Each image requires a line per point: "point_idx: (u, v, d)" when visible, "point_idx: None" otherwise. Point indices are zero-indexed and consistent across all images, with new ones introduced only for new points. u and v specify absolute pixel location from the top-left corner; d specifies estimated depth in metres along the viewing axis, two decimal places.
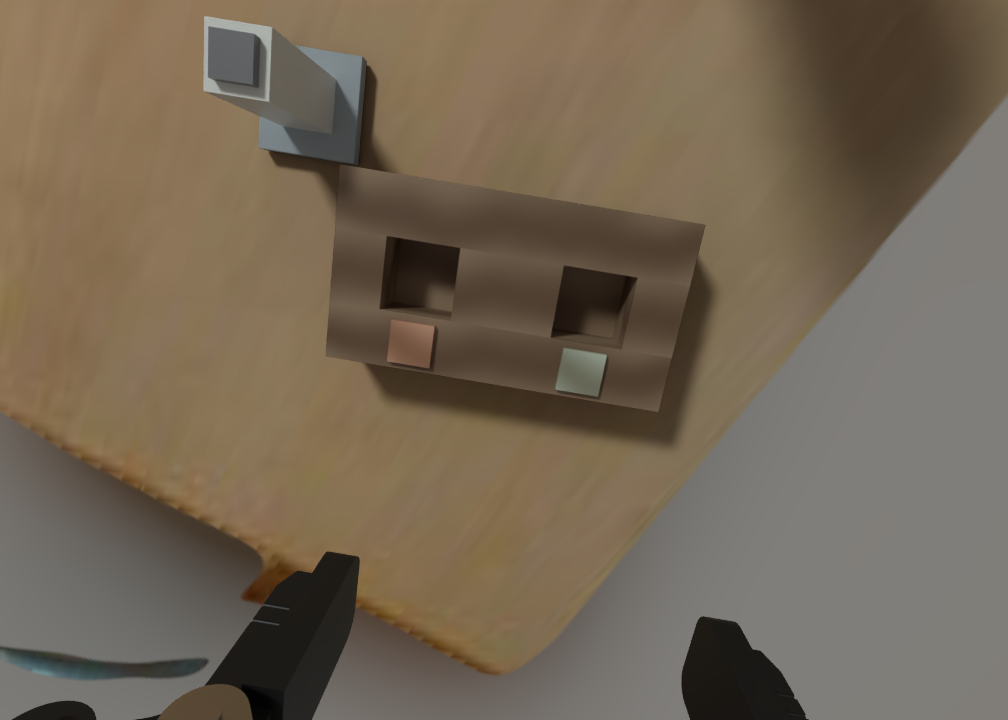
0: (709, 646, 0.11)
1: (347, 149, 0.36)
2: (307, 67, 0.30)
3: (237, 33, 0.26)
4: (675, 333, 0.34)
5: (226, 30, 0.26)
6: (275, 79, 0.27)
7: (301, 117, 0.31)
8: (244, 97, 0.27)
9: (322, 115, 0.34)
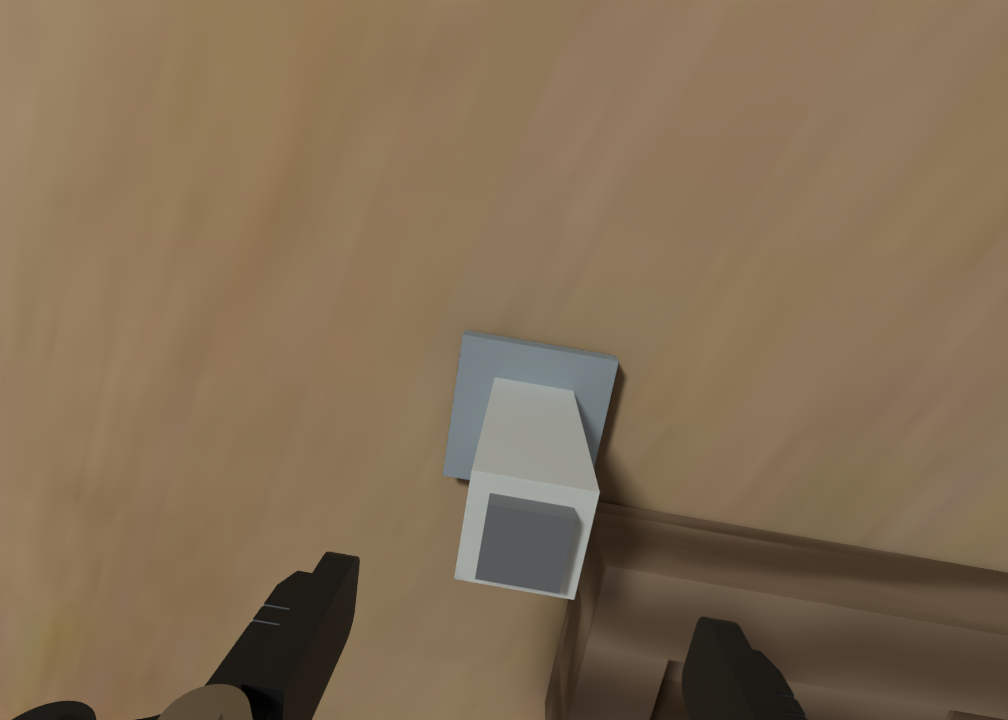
0: (709, 646, 0.11)
1: None
2: None
3: (542, 517, 0.13)
4: None
5: (522, 512, 0.13)
6: None
7: None
8: (528, 590, 0.15)
9: None
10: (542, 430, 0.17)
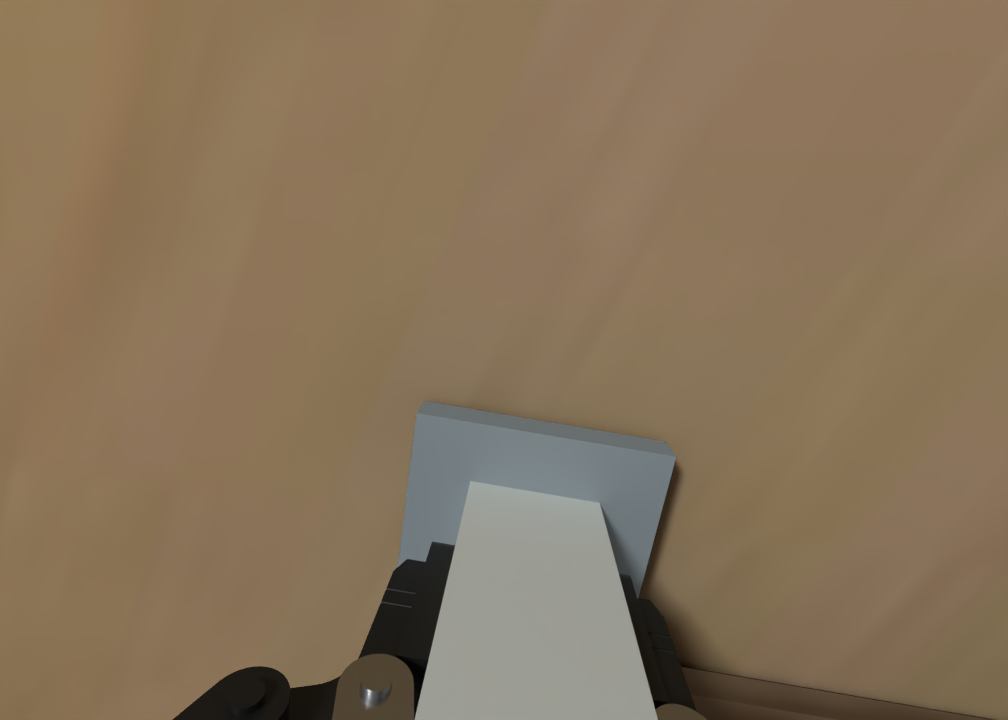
0: None
1: None
2: None
3: None
4: None
5: None
6: None
7: None
8: None
9: None
10: (555, 648, 0.09)
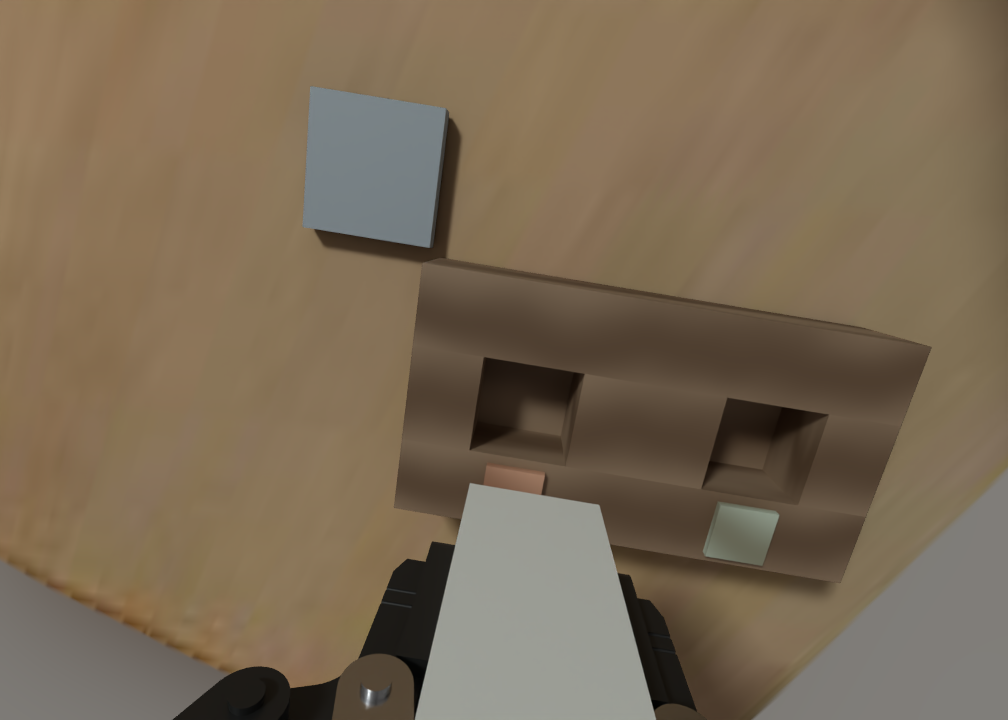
0: None
1: (421, 229, 0.27)
2: None
3: None
4: (874, 486, 0.25)
5: None
6: None
7: None
8: None
9: None
10: (554, 651, 0.09)
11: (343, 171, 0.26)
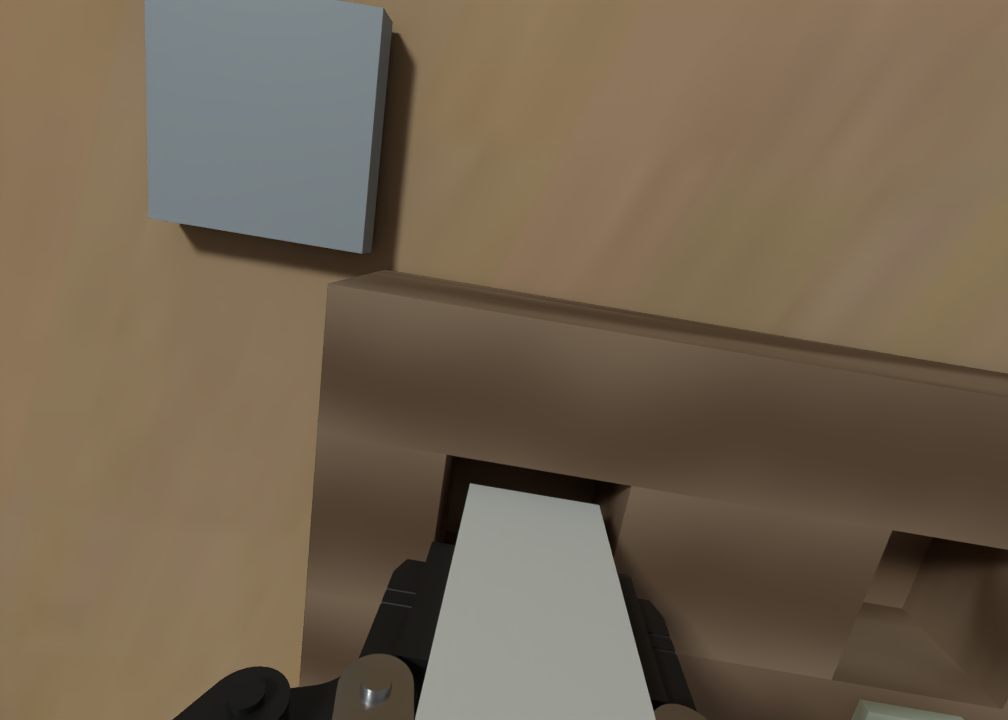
0: None
1: (346, 222, 0.16)
2: None
3: None
4: None
5: None
6: None
7: None
8: None
9: None
10: (554, 651, 0.09)
11: (210, 123, 0.15)
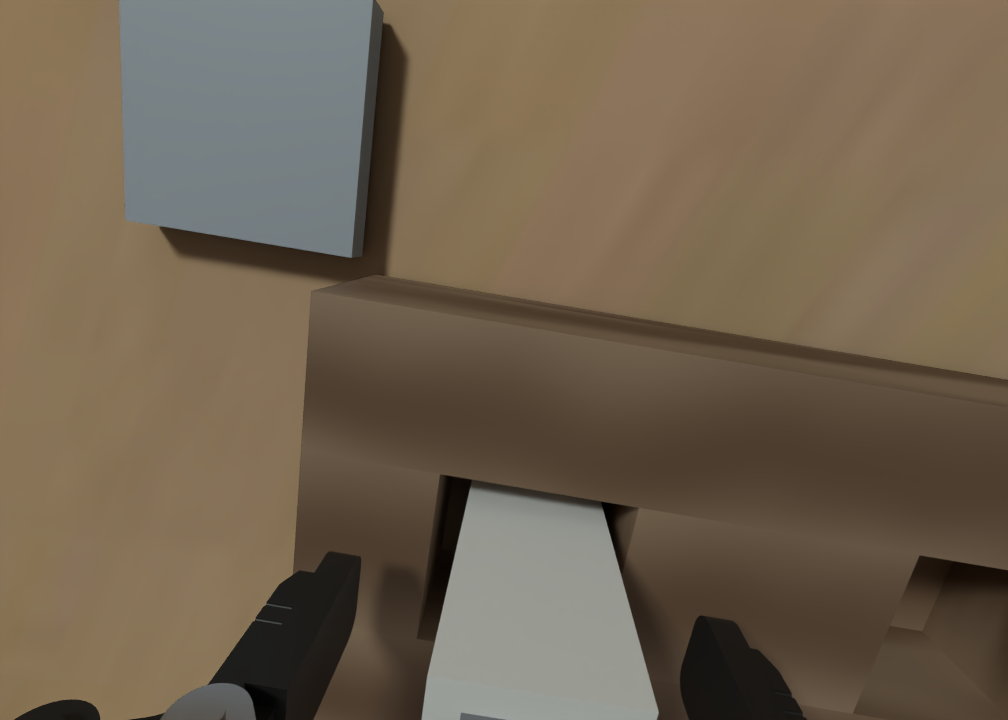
0: (707, 645, 0.11)
1: (335, 225, 0.15)
2: None
3: None
4: None
5: None
6: None
7: None
8: None
9: None
10: (550, 549, 0.11)
11: (189, 119, 0.14)
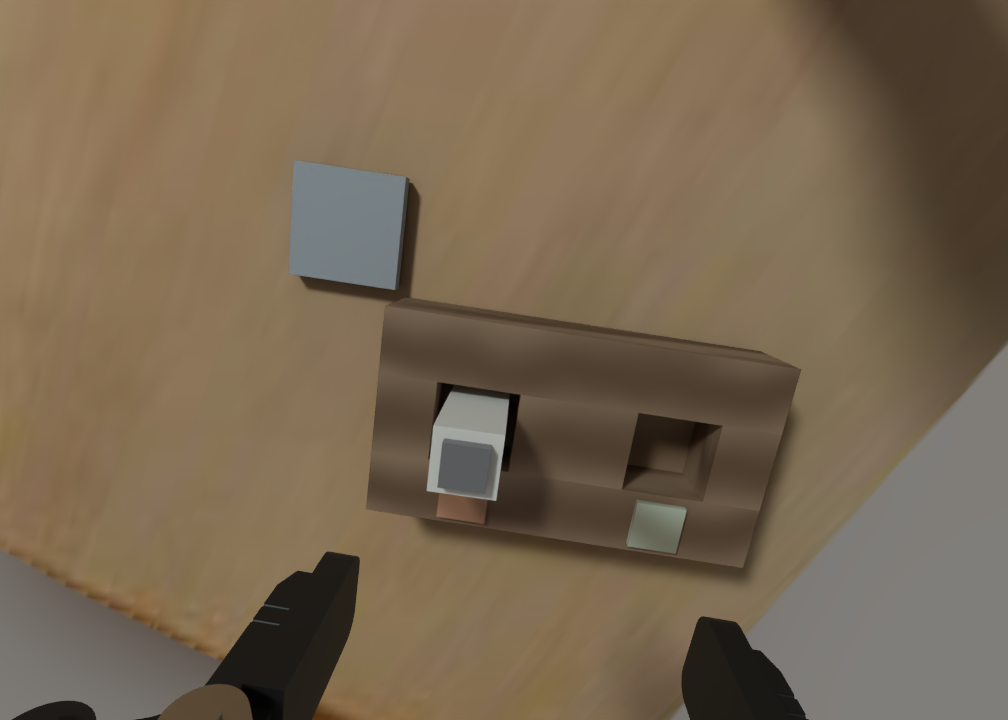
0: (709, 646, 0.11)
1: (387, 275, 0.32)
2: None
3: (472, 449, 0.24)
4: (764, 484, 0.30)
5: (461, 446, 0.24)
6: None
7: None
8: (469, 496, 0.26)
9: None
10: (481, 407, 0.28)
11: (321, 228, 0.32)
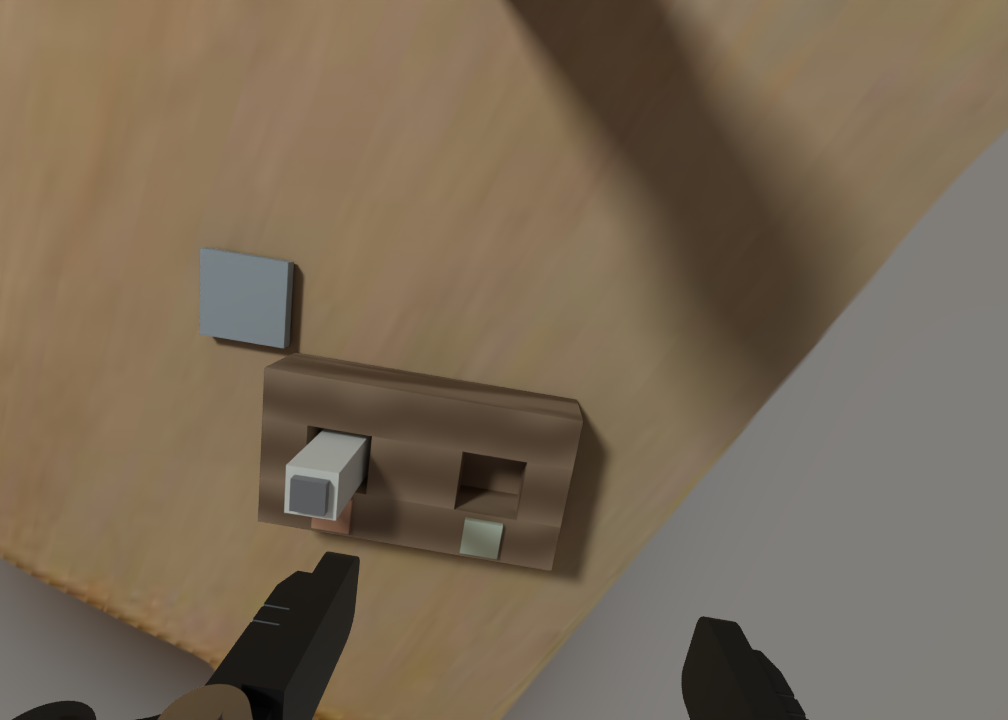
0: (709, 646, 0.11)
1: (277, 336, 0.41)
2: (360, 453, 0.38)
3: (312, 483, 0.33)
4: (562, 507, 0.39)
5: (304, 481, 0.33)
6: (340, 499, 0.34)
7: (355, 490, 0.38)
8: (316, 516, 0.34)
9: (368, 463, 0.41)
10: (337, 446, 0.37)
11: (224, 300, 0.40)
